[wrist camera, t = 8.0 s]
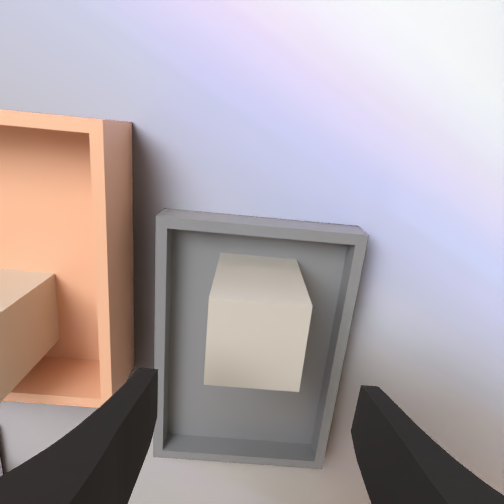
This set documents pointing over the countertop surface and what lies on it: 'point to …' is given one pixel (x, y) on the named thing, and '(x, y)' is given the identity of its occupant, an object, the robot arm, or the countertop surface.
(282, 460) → the stone tray
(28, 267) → the bin
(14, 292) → the block
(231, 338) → the stone right
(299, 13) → the countertop surface
